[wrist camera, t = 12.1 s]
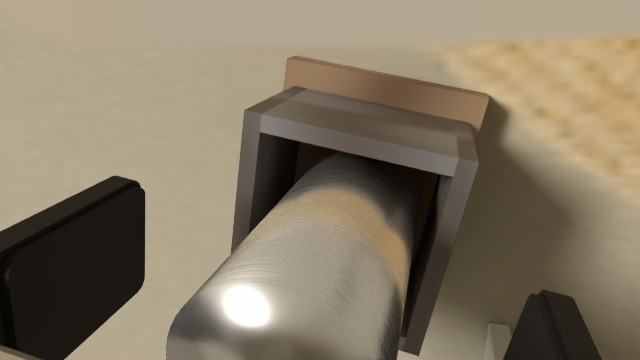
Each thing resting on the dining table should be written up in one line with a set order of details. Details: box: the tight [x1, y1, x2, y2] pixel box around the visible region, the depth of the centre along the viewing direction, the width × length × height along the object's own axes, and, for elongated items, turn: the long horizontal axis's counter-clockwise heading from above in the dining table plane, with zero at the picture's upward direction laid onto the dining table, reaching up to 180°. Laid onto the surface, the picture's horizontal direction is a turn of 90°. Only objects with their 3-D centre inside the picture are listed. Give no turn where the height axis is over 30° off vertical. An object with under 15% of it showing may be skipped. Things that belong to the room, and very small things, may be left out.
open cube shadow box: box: [231, 56, 489, 356], centre depth 15 cm, size 7×8×6 cm
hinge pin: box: [166, 148, 422, 360], centre depth 12 cm, size 4×4×10 cm
